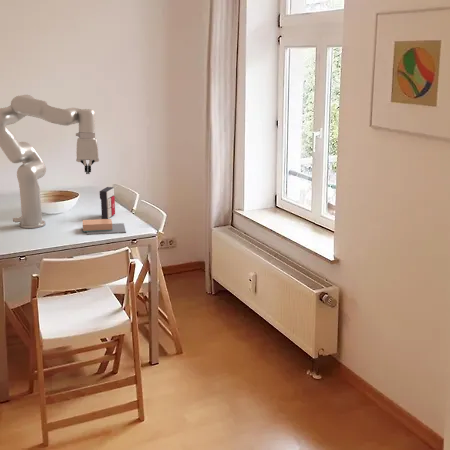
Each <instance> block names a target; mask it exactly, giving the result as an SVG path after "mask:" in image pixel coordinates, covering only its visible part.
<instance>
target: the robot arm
mask: <svg viewBox="0 0 450 450" xmlns="http://www.w3.org/2000/svg"><path fill="white" fill-rule="evenodd" d="M26 116H27V117H32V118H37V119H41V120H43V121H45V122H47V123H51V124H55V125H60V126H66V127H67V126H71V125H75V124H78V132H76V133H75V137H78V138H77V139H76V151H75V152H76V162H78V163H81V165H83V166H84V173H86V174H85V175H90V173H92V165H93V164H95V163H98V162H99V161H100V159H99V146H98V145H99V144H98V139H97V137H96V123H95V122H96V120H95V119H96V118H95V117H96V114H95V111H94V110H93V109H90V108H88V109H87V108H83V109H82V108H78V107H69V108H64V109H63V108H59V107H54V106H51V105H49V104H48V102H47V101H45V100H42V99H37V98H34V97H33V96H32V95H31V94H21V95H16V96H14V97H13V98H12V99H11V101H10V104H9V106H7V107H6V106H5V107H0V149H1V150H2V151H3V153H4V155H5V157H6V158H7V160H9V161H10V162H11V163H12V164H20V163H22V164H21V165H20V166H19V167H18V168H17V171H16V178H17V182H18V187H19V196H20V197H19V198H20V207H21V208H20V209H21V216H20V217H19V216H18V217H12V222H14V223H18V227H20V228H22V229H23V228H24V229H36V228H41V227H44V226H45V225H46V221H45V220H43V216H42V215H43V213H42V203H41V202H42V201H41V200H42V199H41V191H40V190H41V189H40V185H39V181H38V180H39V179H41V178H43V177H45V174H46V172H47V167H46V165H45V162H44V161H43V160H42V158H41V157H40V155H39V154H38V152H37V151H36V149H35V148H34V147H33V145H32V144H31V143H29V142H28V141H19V140H18V139H17V138H16V136H15V135H14V134H13V132H12V131H11V130H10V129H9V128H7V126H10V125H14V124H16V123H17V122H19V121H21V120H22V119H24V118H25V117H26ZM87 161H88V162H87Z"/></svg>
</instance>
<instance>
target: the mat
mask: <svg viewBox="0 0 450 450" xmlns="http://www.w3.org/2000/svg"><path fill="white" fill-rule="evenodd" d="M126 233H127V231H126V227H125V223H123V222H121V223H118V222H117V223H112V231H92V232H86V235H87V236H91V235H105V234H106V235H107V234H108V235H109V234H111V235H113V234H126Z"/></svg>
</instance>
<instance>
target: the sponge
mask: <svg viewBox="0 0 450 450" xmlns="http://www.w3.org/2000/svg"><path fill="white" fill-rule="evenodd" d="M112 224H113V221H112V218H109V219H102V218H98V219H83V220H82V232H83V233H87V232H92V231H112Z"/></svg>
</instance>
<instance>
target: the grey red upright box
mask: <svg viewBox="0 0 450 450" xmlns="http://www.w3.org/2000/svg"><path fill="white" fill-rule="evenodd" d="M115 198H116V197H115V188H114V187H113V186H107V187H105V188H103V189H101V190H99V199H100V204H101V205H100V206H101V207H100V209H101V219H108V218H109V219H111V217H113V216H114V215H116V200H115Z"/></svg>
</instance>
